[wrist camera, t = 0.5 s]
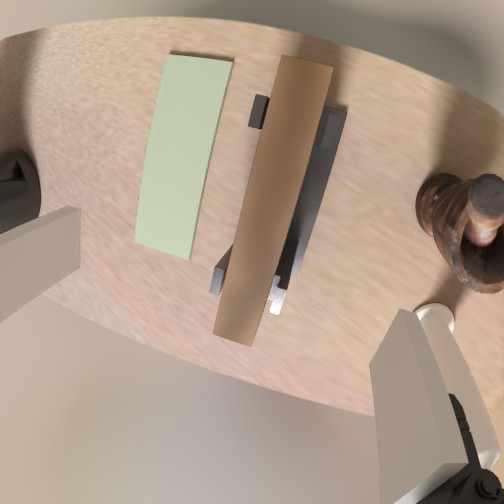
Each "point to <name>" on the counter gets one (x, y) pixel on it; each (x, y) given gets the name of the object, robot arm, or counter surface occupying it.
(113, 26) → the counter surface
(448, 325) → the candle
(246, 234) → the rail
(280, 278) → the rack
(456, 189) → the mortar and pestle
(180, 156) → the mat
